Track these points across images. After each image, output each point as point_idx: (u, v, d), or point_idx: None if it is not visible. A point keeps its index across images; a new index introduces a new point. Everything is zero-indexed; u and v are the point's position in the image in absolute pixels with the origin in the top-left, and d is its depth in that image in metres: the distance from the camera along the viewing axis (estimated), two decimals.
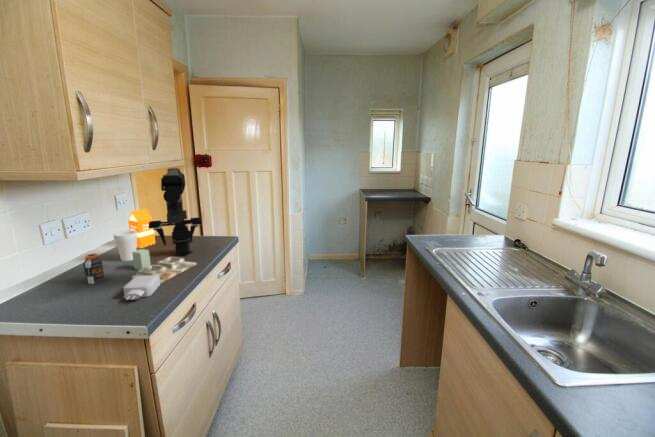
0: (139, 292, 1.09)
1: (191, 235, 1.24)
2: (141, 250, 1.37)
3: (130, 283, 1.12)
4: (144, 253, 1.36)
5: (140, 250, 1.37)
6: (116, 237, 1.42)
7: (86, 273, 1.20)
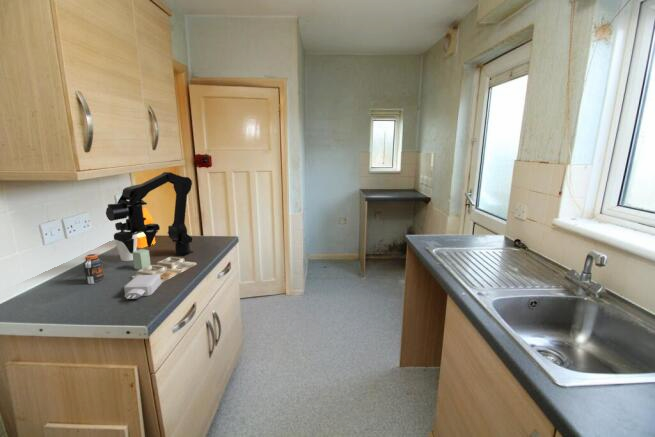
0: (140, 291, 1.10)
1: None
2: (141, 250, 1.37)
3: (131, 282, 1.13)
4: (144, 253, 1.36)
5: (140, 250, 1.37)
6: None
7: (86, 273, 1.20)
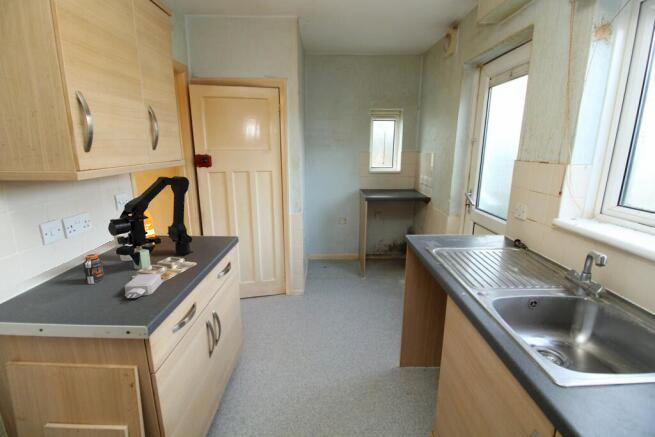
0: (140, 291, 1.10)
1: None
2: (141, 250, 1.37)
3: (131, 282, 1.14)
4: (144, 253, 1.36)
5: (140, 250, 1.37)
6: (116, 237, 1.42)
7: (86, 273, 1.20)
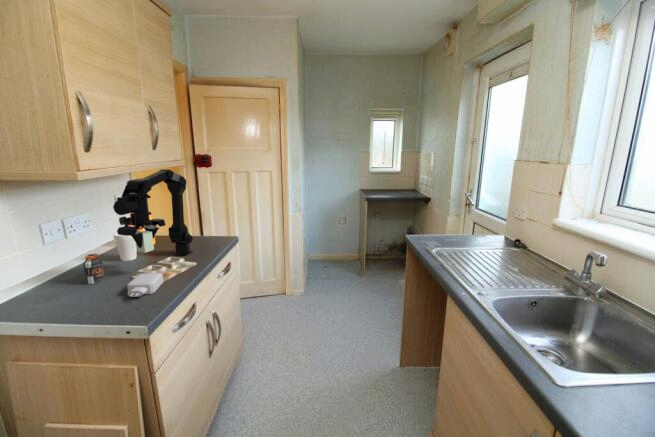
0: (142, 289, 1.11)
1: None
2: (144, 232, 1.29)
3: (134, 280, 1.14)
4: (147, 235, 1.28)
5: (143, 232, 1.29)
6: (116, 237, 1.42)
7: (86, 273, 1.20)
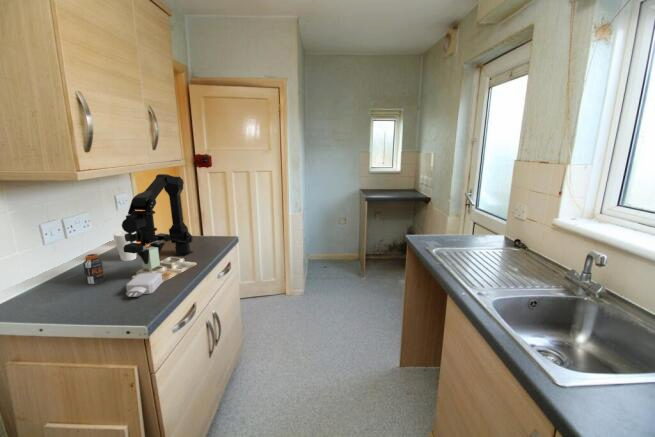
0: (141, 289, 1.11)
1: None
2: (150, 248, 1.29)
3: (133, 280, 1.15)
4: (153, 251, 1.27)
5: (149, 248, 1.29)
6: (116, 237, 1.42)
7: (86, 273, 1.20)
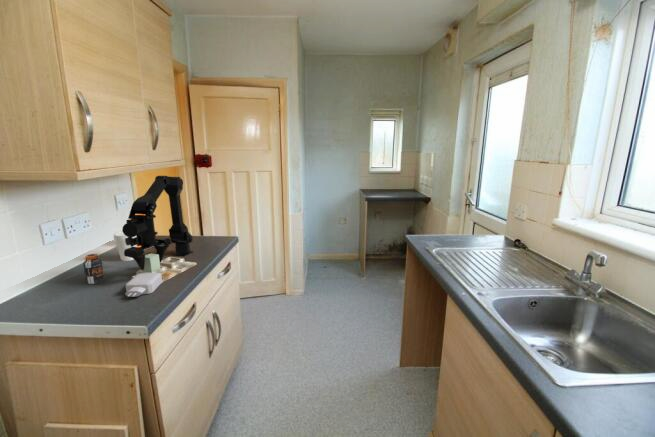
0: (140, 289, 1.11)
1: None
2: (151, 255, 1.29)
3: (132, 280, 1.15)
4: (154, 258, 1.28)
5: (150, 255, 1.29)
6: (116, 237, 1.42)
7: (86, 273, 1.20)
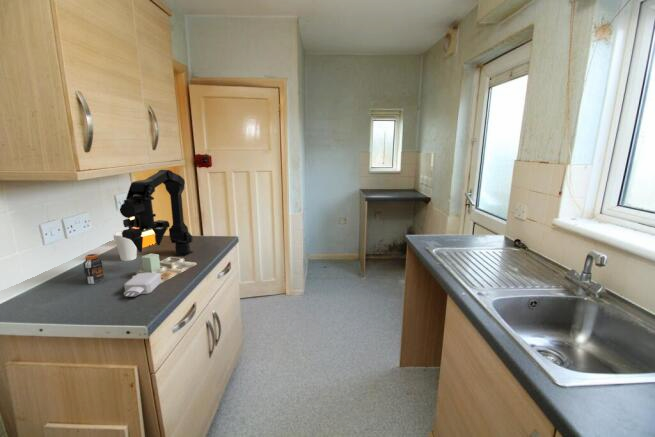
0: (138, 289, 1.11)
1: None
2: (151, 255, 1.29)
3: (131, 280, 1.15)
4: (154, 258, 1.28)
5: (150, 255, 1.29)
6: (116, 237, 1.42)
7: (86, 273, 1.20)
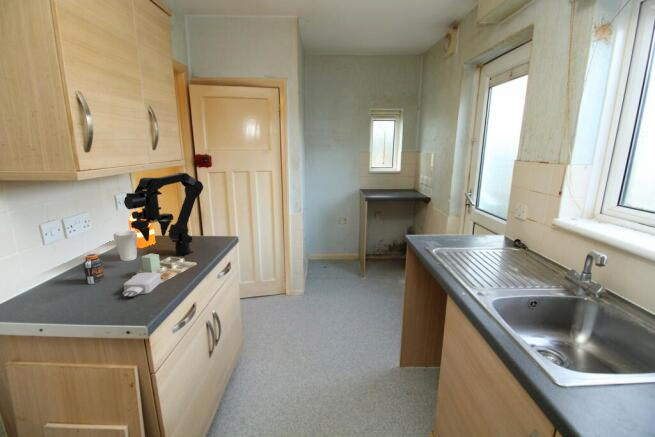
0: (137, 289, 1.11)
1: None
2: (151, 255, 1.29)
3: (130, 280, 1.15)
4: (154, 258, 1.28)
5: (150, 255, 1.29)
6: (116, 237, 1.42)
7: (86, 273, 1.20)
